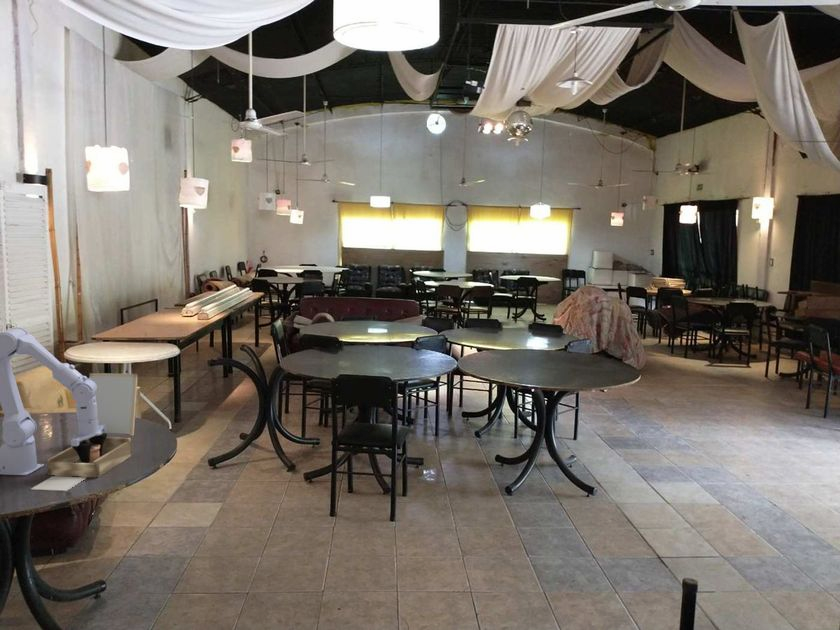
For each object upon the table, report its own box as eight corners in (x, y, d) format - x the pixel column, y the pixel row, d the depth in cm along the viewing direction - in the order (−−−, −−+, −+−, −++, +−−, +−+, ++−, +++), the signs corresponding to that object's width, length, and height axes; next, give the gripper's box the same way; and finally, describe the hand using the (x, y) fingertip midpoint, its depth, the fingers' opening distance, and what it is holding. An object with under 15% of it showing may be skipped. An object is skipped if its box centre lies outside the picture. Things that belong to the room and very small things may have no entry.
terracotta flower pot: (78, 468, 197) (76, 449, 196) (89, 461, 202) (87, 443, 201) (94, 468, 196) (92, 450, 195) (105, 462, 202) (103, 443, 201)
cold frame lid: (89, 373, 211) (91, 373, 212) (85, 433, 209) (86, 433, 210) (136, 373, 209) (137, 373, 210) (132, 435, 207) (133, 435, 208)
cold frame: (48, 475, 192) (46, 456, 191) (86, 453, 209) (85, 436, 208) (98, 477, 190) (96, 458, 189) (132, 455, 207) (130, 437, 206)
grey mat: (30, 489, 181) (30, 488, 181) (52, 477, 190) (52, 476, 190) (66, 491, 180) (66, 490, 180) (86, 478, 189) (86, 477, 189)
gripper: (84, 426, 189) (88, 469, 192) (113, 411, 204) (117, 452, 206) (62, 425, 190) (67, 468, 192) (93, 411, 205) (96, 451, 207)
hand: (91, 460), depth 199 cm, fingers closed on terracotta flower pot, 5 cm apart
